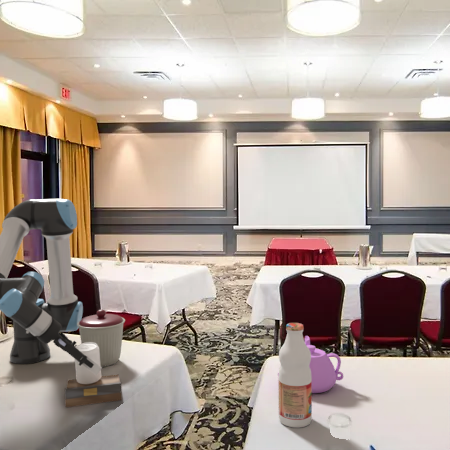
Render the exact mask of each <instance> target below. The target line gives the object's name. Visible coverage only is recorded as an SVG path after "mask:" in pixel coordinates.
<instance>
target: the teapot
mask: <svg viewBox="0 0 450 450" xmlns="http://www.w3.org/2000/svg"><path fill="white" fill-rule="evenodd" d="M304 342H305V344H306V346H307V347H308V348H309V350H310V352H311V361H310V364H309V367H310V369H311V375H312V394H319V393H325V392H327V391H329V390H331V388H332V387H334V386H335V384H336V383H337V381H341V380H343V379H344V372H342V371H340V369H341V364H342V360H341V356H339V355H338V354H337V353H333V352H332V353H330V352H329V353H326V351H324V350H323V349H319V348H316V346H315V345H312V344H311V339H310V337H309V336H308V335H305V336H304ZM330 358H335V359H337V362H336V364H337V365H336V368H335V367H334V364H333V362H332V360H331V359H330ZM278 375H279V371H278V372H277V376H278ZM339 375H340V376H339Z"/></svg>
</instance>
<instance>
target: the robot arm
mask: <svg viewBox="0 0 450 450" xmlns="http://www.w3.org/2000/svg"><path fill="white" fill-rule="evenodd" d="M2 221H3V222H2V224H1V227H2V230H1V233H0V311H1V312H2V313H3V314H4V315H5V316H6V317H8V318H9V319H10V320H12V325H13V326H12V327H13V344H12V347H11V351H10V354H9V361H10V363H12V364H16V365H17V364H18V365H20V364H21V365H24V364H26V365H27V364H34V363H35V364H36V363H39V362H42V361H44V360H47V359H48V358H49V357H51V349H50V346H49V343H51V342H52V343H53V344H54V345H55V346H56V347H58V348H60V349H61V350H62V351H64V352H66V353H68V355H69V356H71V357H72V358H73V359H74V360H75V359H76V360H77V361H78V362H80V363H79V365H80V366H81V365H84V366H85V367H86V368H88V369H89V370H90V371H92V372H93V373H94V374H96V375H97V374H98V373H99V371H100V370H101V371H102V369H103V367H100V366H99V365H98V364H96V363H95V362H94V361H93V360H91V359H90V358H89V357H87V356H85V355H84V354H83V353H82V352H80V351H79V350H78V349H77V348H76V346H78V344H77V342H76V341H75V340H73V341H72V340H71V339H69V337H68V336H66V335H65V333H64V332H66V333H68V332H74V331H75V332H76V331H77V330H78V329H79V327H78V325H77V323H78V322H79V321H80V320H82V319H83V318H82V317H83V313H84V306H83V302H82V301H79V300H78V296H77V295H75V294H74V285H73V284H74V283H73V271H72V258H71V257H72V256H71V245H70V244H71V243H70V236H71V235H72V234H73V233H74V230H75V229H76V228H77V226H78V214H77V210H76V207H75V205H74V203H73V202H72V200H70V199H66V198H65V199H64V198H43V199H42V198H40V199H39V198H38V199H37V198H36V199H35V198H32V199H27V200H24V201H22V202H20V203H18V204H17V205H16V206H14V207H13V208H11V210H10V211H9V212H8V213H7V214H6V216H5V217H4V219H3V220H2ZM31 230H41V236H42V237H44V238H45V240H46V250H47V251H46V253H47V263H48V265H47V266H48V277H49V289H50V290H49V291H50V296H49V297H48V299H47V300H46V302H45V300H44V299H43V298H39V297H40V295H41V293H42V292H43V289H44V287H45V279H44V277H43V276H42V275H41V274H40V273H39V272H36V271H27V272H26V273H24V274H23V275H22V276H21V277H11V278H10V277H9V278H8V276H9V274H10V271H11V269H12V267H13V264H14V262H15V260H16V257H17V254H18V251H19V249H20V247H21V244H22V243H23V240H24V237H26V236H27V235H29V232H30V231H31ZM81 358H82V359H81ZM80 359H81V360H80Z"/></svg>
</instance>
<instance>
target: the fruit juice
mask: <svg viewBox="0 0 450 450" xmlns="http://www.w3.org/2000/svg"><path fill="white" fill-rule="evenodd" d="M304 329H305V328H304V324H302V323H299V322H289V323H287V324H286V326H285V330H286V333H287V334H286V337H285V340H284V343H283V345H282V346H281V348H280V349H279V351H278V359H279V362H280V364H279V365H280V366H279V368H278V372H279V375H278V374H277V376H278V377H277V378H278V380H277V381H278V419H279V422H280V423H281V424H282V425H284V426H286V427H289V428H295V429H297V428H304V427H307V426H309V425H310V424H311V423H312V418H313V417H312V414H313V413H312V408H313V407H312V404H313V403H312V395H313V393H312V375H311V369H310V367H309V364H310V361H311V352H310V350H309V348H308V347H307V346H306V344H305V337H304V335H303V332H304Z"/></svg>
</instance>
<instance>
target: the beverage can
mask: <svg viewBox="0 0 450 450" xmlns="http://www.w3.org/2000/svg"><path fill="white" fill-rule="evenodd" d="M76 348H77V349H78V350H79V351H80V352H82V353H83V354H84V355H85V356H87V357H89V358H90V359H91V360H93V361H94V362H95V363H96V364H98V365H99V366H100V367H101V365H100V352H99V347H98V345H97V344H96V343H93V342H86V343H82V344H81V343H79V344H77V346H76ZM81 359H82V358H81ZM81 359H80V360H81ZM79 363H80V362H78V361H77V360H76V359H75V358H74V366H75V379H76V380H77V382H78V383H80V384H92V383H95V382H97V381H98V380H100V378H101V376H102V369H101V370H100V371H99V373H98V374H97V375H96V374H94V373H93V372H92V371H90V370H89V369H88V368H86V367H85V366H84V365H81V366H80V365H79Z"/></svg>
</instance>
